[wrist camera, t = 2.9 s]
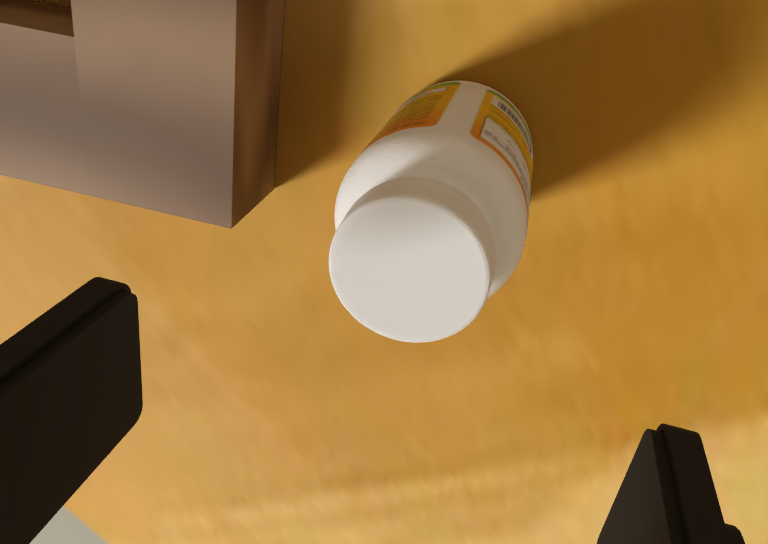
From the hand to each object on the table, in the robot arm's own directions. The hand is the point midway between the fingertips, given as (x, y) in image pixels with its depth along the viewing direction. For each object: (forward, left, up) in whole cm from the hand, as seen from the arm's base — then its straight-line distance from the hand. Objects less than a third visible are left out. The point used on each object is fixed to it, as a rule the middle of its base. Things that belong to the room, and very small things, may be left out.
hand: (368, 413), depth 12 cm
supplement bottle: (0, 0, -15) cm, 15 cm away
